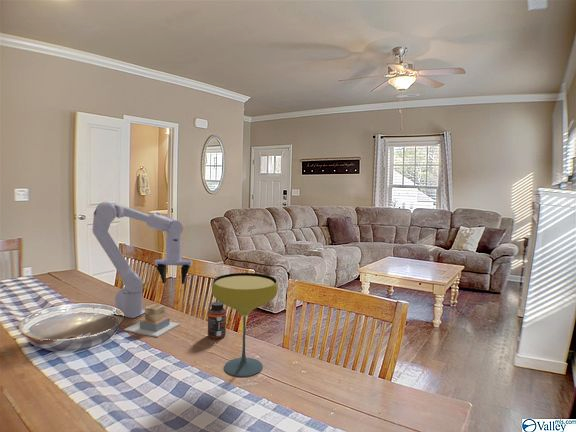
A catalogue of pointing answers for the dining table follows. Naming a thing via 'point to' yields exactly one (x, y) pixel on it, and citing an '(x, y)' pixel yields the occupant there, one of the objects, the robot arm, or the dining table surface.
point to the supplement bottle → (216, 321)
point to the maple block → (154, 313)
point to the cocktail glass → (244, 309)
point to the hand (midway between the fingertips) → (173, 283)
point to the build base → (150, 333)
